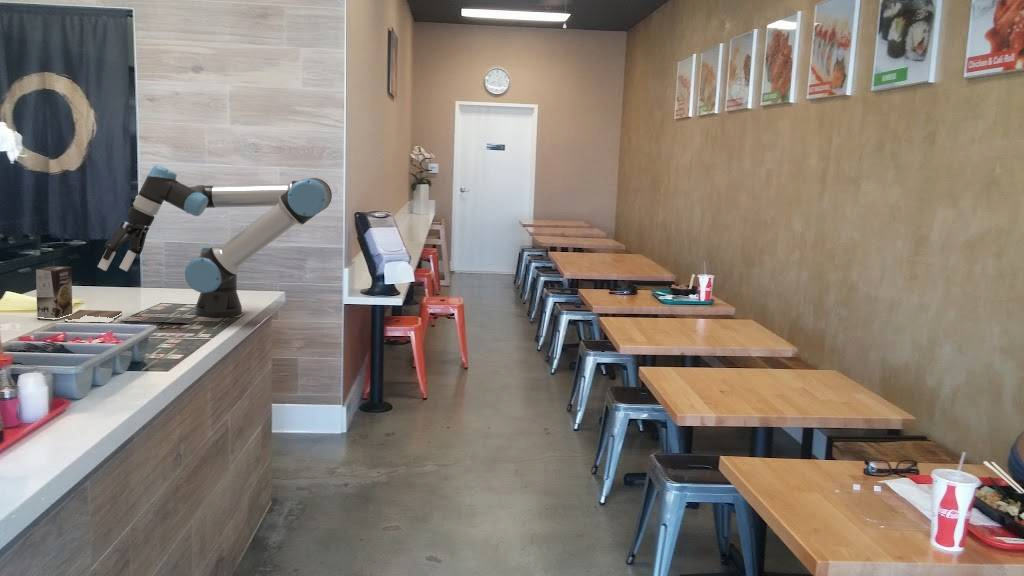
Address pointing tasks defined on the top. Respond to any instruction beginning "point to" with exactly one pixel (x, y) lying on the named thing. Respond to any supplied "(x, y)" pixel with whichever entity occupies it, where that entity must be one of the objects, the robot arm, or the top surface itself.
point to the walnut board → (93, 314)
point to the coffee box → (54, 291)
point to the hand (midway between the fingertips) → (112, 269)
